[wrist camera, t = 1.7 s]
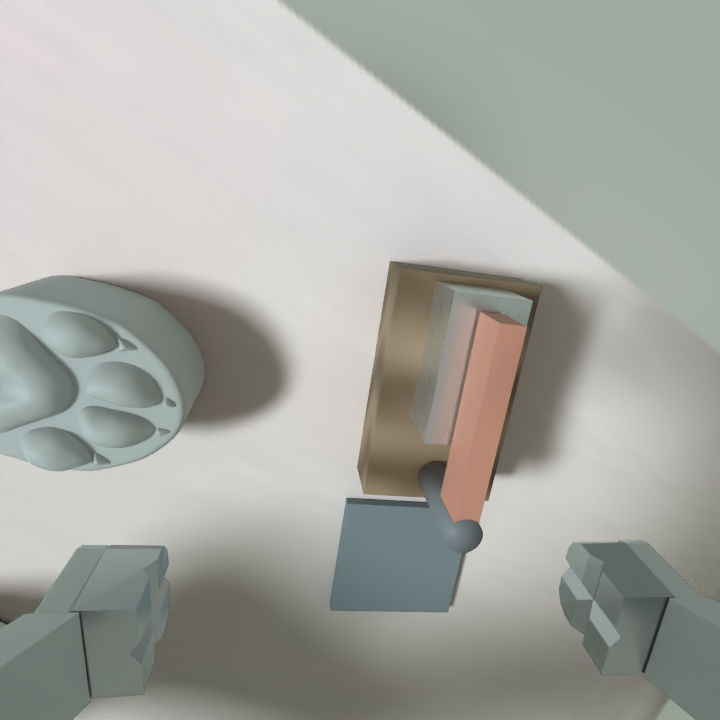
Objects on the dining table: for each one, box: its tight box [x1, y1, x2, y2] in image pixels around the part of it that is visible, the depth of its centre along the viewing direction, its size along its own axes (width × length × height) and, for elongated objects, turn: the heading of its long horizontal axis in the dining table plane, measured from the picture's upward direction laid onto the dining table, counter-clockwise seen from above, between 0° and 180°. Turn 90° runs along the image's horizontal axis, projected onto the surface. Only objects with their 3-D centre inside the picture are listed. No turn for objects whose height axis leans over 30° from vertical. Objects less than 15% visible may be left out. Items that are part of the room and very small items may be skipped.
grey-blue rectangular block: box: [411, 281, 533, 445], centre depth 33 cm, size 10×5×4 cm, turn 172°
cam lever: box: [417, 312, 527, 553], centre depth 32 cm, size 15×2×7 cm, turn 172°
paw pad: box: [0, 276, 205, 471], centre depth 32 cm, size 10×13×9 cm
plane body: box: [357, 262, 542, 501], centre depth 38 cm, size 17×10×4 cm, turn 172°
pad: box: [330, 498, 462, 612], centre depth 44 cm, size 11×11×1 cm
